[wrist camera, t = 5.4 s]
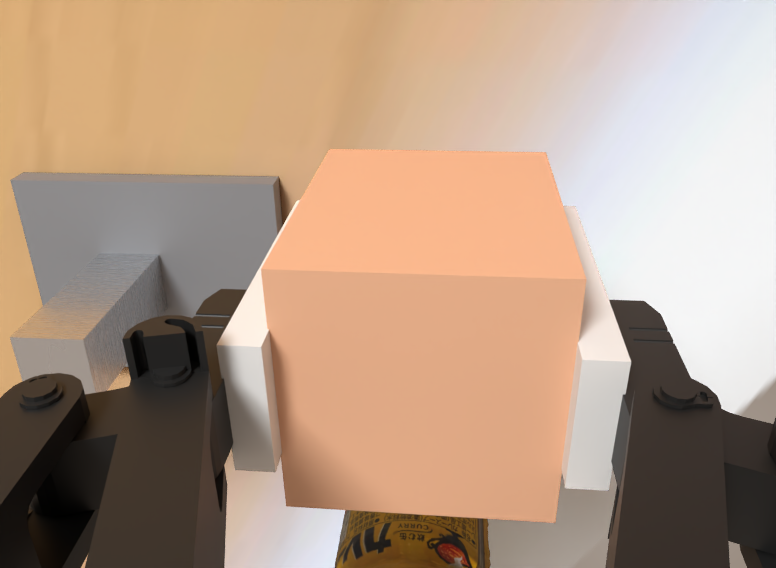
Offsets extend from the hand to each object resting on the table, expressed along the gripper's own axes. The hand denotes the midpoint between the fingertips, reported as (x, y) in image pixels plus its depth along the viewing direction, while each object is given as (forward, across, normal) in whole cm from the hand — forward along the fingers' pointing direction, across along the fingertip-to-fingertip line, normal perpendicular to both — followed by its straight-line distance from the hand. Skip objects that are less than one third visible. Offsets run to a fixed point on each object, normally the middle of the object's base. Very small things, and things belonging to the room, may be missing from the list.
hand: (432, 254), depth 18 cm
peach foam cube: (+1, 0, 0) cm, 1 cm away
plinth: (+11, -12, -7) cm, 18 cm away
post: (+11, -13, -7) cm, 19 cm away
